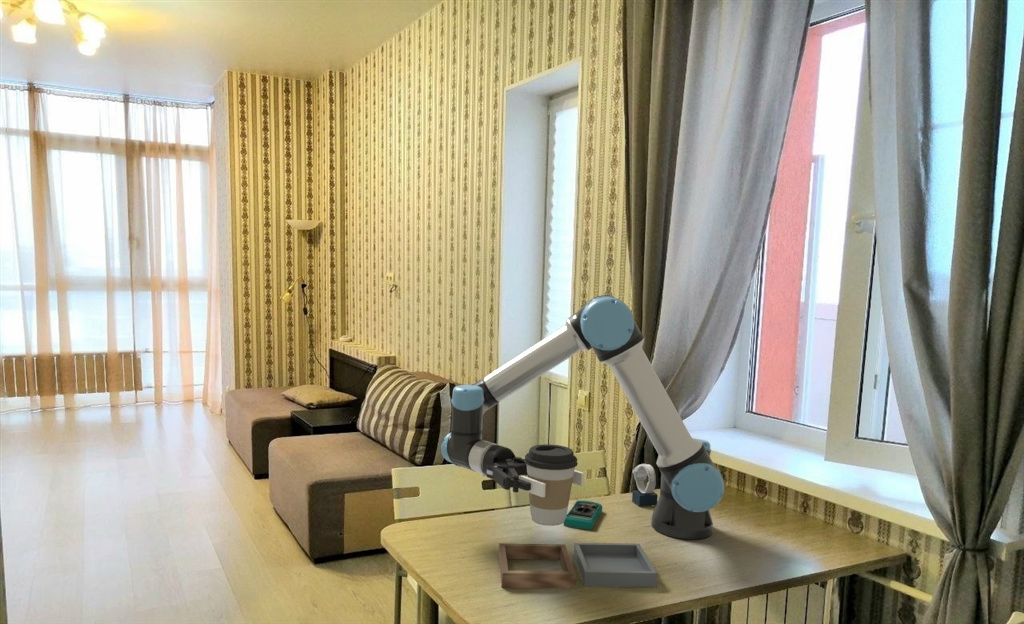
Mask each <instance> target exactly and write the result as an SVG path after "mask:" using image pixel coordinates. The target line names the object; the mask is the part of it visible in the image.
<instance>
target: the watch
mask: <svg viewBox="0 0 1024 624" xmlns="http://www.w3.org/2000/svg"><path fill="white" fill-rule="evenodd" d="M632 474H633V477H634V480H635V483H636V487H637V490H632V492H631V493H632V494H631V496H632V497H631V502H632V503H633V504H635V505H636V506H638V507H640V508H641V507H653V506H652V505H656V504H657V502H658V498H659V496H658V494H657V493H656V492H654V490H655V488H656V485H657V484H656V483H657V482H656V479H657V477H656V471H655V469H654V467H653V466H652V465H651V464H647V463H641V464H638V465H637V466H635V467H634V468H633V470H632ZM647 477H648V482H646V485H645V480H646V479H647Z"/></svg>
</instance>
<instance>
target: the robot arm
mask: <svg viewBox="0 0 1024 624" xmlns="http://www.w3.org/2000/svg"><path fill="white" fill-rule="evenodd" d="M644 342H645V337H644V336H643V334H642V332H641V330H640V328H639V326H638V325H637V323H636V321H635V319H634V315H633V312H632V311H631V309H630V308H629V306H628V305H627V304H626V303H625V302H623V300H621V299H619V298H617V297H614V296H612V295H603V294H602V295H598V296H595V297H593V298H591V299H590V300H589V301H588V302H587V303H586V304H584V305H583V307H582V308H580V309H579V310H577V312H575V313H574V314H573V315H571V316H570V317H568V318H566V322H565V324H564V325H563V326H561V327H560V328H558V329H557V330H555V331H554V332H553V331H552V332H551V333H550V334H549V335H548V336H546V337H544V338H543V339H541V340H539V341H538V342H536V343H535V344H534V345H532V346H530V347H529V348H527V349H526V350H524V351H523V352H521V353H520V354H518V355H517V356H515V357H513V358H512V359H510V360H509V361H507V362H505V363H504V364H503V365H501V366H499V367H497V369H495V370H493V371H492V372H490V373H488V374H487V375H486V376H484V377H483V378H481V379H480V380H478V381H476V382H475V383H472V384H461V385H455V386H454V387H453V390H452V396H451V399H450V400H451V401H450V402H451V425H450V426H451V427H450V432H448V433H447V435H446V436H444V438H443V441H442V443H441V446H440V447H441V448H440V450H441V455H442V457H443V458H444V459H445V460H446V461H447V462H449V463H451V464H453V465H454V466H458V467H461V468H464V469H467V470H470V471H472V472H476V473H477V474H480V475H481V476H483V477H486V478H488V479H491V480H493V481H494V482H495V483H496V484H498V485H499V486H500V487H501V488H503V489H504V490H506V491H509V490H511V488H512V492H513V493H519V490H521V491H524V492H526V493H528V494H529V493H532V494H535V495H537V496H540V497H545V486H546V484H545V483H543V482H540V481H537V480H534V479H531V478H528V475H527V464H526V463H525V462H524V460H525V458H522V457H520V456H516V454H515V453H514V451H513V450H512V449H511V448H509V447H507V446H503V445H500V444H497V443H494V442H491V441H488V440H485V439H483V438H482V437H483V420H484V414H485V413H486V412H487V411H488V410H489V409H492V407H494V406H496V405H498V404H499V403H500V402H502V401H503V400H505V399H507V398H509V397H510V396H511V395H513V394H514V393H516V392H518V391H519V390H521V389H522V388H524V387H525V386H527V385H528V384H530V383H532V382H533V381H535V380H537V379H538V378H541V376H543V375H545V374H546V373H547V372H549V371H551V370H552V369H554V368H555V367H557V366H558V365H560V364H562V363H563V362H565V361H566V360H569V359H570V358H571V357H573V356H574V355H576V354H578V353H579V352H581V351H585V352H586V351H587V352H588V351H590V350H591V349H592V350H593V352H594V354H595V356H596V357H597V359H598V362H599V363H600V364H604V365H607V366H609V368H610V370H611V372H612V373H613V375H614V376H615V379H616V381H617V382H618V384H619V385H620V387H621V389H622V391H623V393H624V395H625V396H626V398H627V401H628V402H629V403H630V406H631V407H632V409H633V411H634V412H635V414H636V416H637V418H638V420H639V422H640V423H641V426H642V427H643V430H644V431H645V432H646V433H645V434H646V435H647V436H648V438H649V440H650V442H651V443H652V445H653V447H654V449H655V450H656V453H657V454H658V456H657V459H656V465H657V468H658V469H659V472H660V475H661V476H660V490H659V491H660V492H659V496H658V498H657V504H656V506H654V510H653V512H652V514H651V522H650V523H651V527H652V528H653V529H654V530H655V531H656V532H658V533H660V534H662V533H663V535H665V536H668V537H672V538H676V539H683V540H701V538H702V539H706V538H709V537H710V536H712V535H713V530H714V528H713V527H714V522H713V518H712V515H711V510H712V509H713V508H714V507H716V506H717V505H718V504H719V503H720V501H722V498H723V496H724V492H725V481H724V478H723V475H722V473H721V472H720V470H719V469H717V467H716V465H715V464H714V462H713V460H712V458H711V453H712V449H711V443H710V442H709V441H707V440H705V439H700V438H699V439H698V438H694V437H692V436H691V433H690V432H689V430H688V428H687V426H686V425H685V423H684V421H683V419H682V417H681V415H680V414H679V412H678V411H677V409H676V406H675V405H674V403H673V401H672V400H671V398H670V396H669V394H668V392H667V390H666V388H665V387H664V385H663V383H662V381H661V380H660V378H659V376H658V374H657V373H656V370H655V369H654V367H653V365H652V363H651V362H650V360H649V358H648V356H647V355H646V353H645V351H644V349H643V345H644ZM584 479H585V472H584V471H583V472H582V471H579V470H576V469H575V470H574V475H573V481H572V484H574V485H577V486H580V487H581V486H584V482H585V480H584ZM708 536H709V537H708ZM705 537H706V538H705Z"/></svg>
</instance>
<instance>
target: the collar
mask: <svg viewBox="0 0 1024 624" xmlns="http://www.w3.org/2000/svg"><path fill="white" fill-rule="evenodd" d="M498 560H499V561H498V562H499V563H498V564H499V571H500V580H501V582H500V583H501V588H505V589H506V588H507V589H508V588H509V589H514V588H515V589H517V588H518V589H524V588H525V589H576V575H577V574H576V571H575V568H574V565H573V563H572V559H571V557H570V554H569V551H568V548H567V546H566V544H564V543H561V544H558V543H510V542H509V543H506V542H505V543H504V542H503V543H501V542H500V543H499V544H498ZM508 560H552V561H553V560H557V561H560V564H561V567H562V570H509V568H508Z"/></svg>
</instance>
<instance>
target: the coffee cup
mask: <svg viewBox="0 0 1024 624" xmlns="http://www.w3.org/2000/svg"><path fill="white" fill-rule="evenodd" d="M524 459H525V460H524V462H525V463H526V464H527V475H528V476H527V477H528V478H531V479H534V480H537V481H540V482H543V483H545V484H546V486H545V497H540V496H537V495H535V494H532V493H529V492H528V498H529V509H530V511H529V512H530V516H531V520H532V522H534V523H535V524H538V525H542V526H547V527H548V526H549V527H553V526H559V525H564V521H565V518H566V516H567V514H568V509H569V504H570V498H571V493H572V487H573V486H572V485H573V483H572V481H573V475H574V470H576V468H575V467H577V466H578V464H579V463H578V458H577V456H576V455H575V453H574V451H573V449H572V448H570V447H567V446H564V445H559V444H550V443H549V444H548V443H547V444H538V445H537V444H536V445H534V446H533V445H532V446H531V447H530V448H529V450H528V452H527V453H526V454H524Z"/></svg>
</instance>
